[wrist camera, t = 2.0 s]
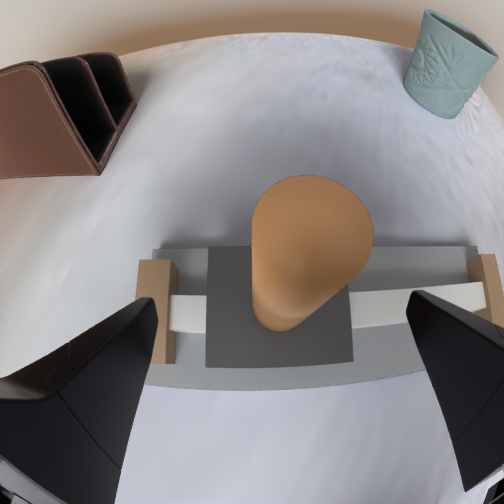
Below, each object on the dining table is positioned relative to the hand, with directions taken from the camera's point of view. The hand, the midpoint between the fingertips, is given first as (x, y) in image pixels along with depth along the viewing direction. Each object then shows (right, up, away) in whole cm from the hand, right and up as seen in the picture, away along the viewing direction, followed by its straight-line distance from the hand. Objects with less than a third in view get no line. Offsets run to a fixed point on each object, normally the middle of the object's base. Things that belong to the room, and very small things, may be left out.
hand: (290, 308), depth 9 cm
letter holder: (-24, +14, +16) cm, 32 cm away
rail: (+5, -2, +9) cm, 10 cm away
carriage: (0, -1, +6) cm, 6 cm away
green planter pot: (+23, +22, +19) cm, 37 cm away
